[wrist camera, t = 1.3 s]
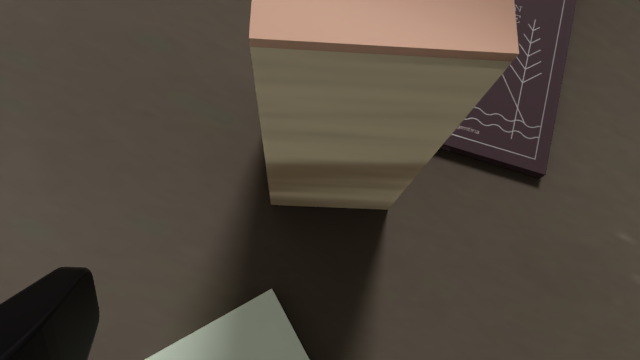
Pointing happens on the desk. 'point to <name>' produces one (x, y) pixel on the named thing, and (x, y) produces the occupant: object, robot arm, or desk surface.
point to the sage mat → (241, 336)
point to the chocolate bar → (522, 94)
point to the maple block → (368, 90)
